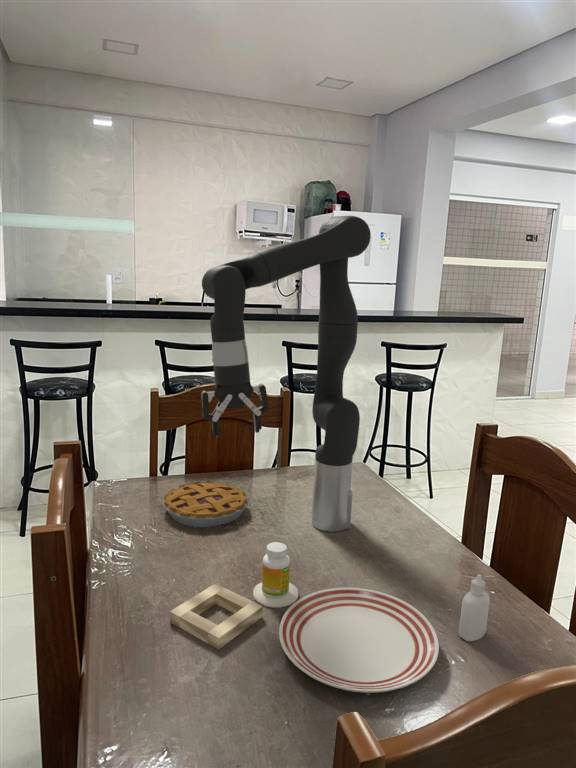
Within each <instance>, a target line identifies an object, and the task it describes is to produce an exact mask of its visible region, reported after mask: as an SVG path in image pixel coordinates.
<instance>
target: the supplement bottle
mask: <svg viewBox="0 0 576 768" xmlns="http://www.w3.org/2000/svg"><path fill="white" fill-rule="evenodd" d="M265 551H266V554H265V555H264V556H263V558H262V575H261V576H262V577H261V582H262V592H263V594H264V595H266V596H267V597H270V598H281V597H284V596H286V595H287V593H288V591H289V583H290V571H291V560H290V557H289V555H288V554H287V553H288V547H287V545H286V544H285V543H282V542H280V541H279V542H277V541H274V542H270V543H268V544H267V545H266V550H265Z"/></svg>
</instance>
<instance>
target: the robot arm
mask: <svg viewBox="0 0 576 768" xmlns="http://www.w3.org/2000/svg"><path fill="white" fill-rule="evenodd" d="M371 236H372V235H371V229H370V226H369V224H368V223H367V222H366V221H365V220H364V219H363V218H361V217H359V216H355V215H340V216H331V217H328V218H326V219H325V220H324V221H323V222H322V224H321V226H320V228H319V232H318V234H316V235H313V236H310V237H306V238H302V239H298V240H294V241H289V242H285V243H282V244H278V245H277V244H276V245H273V246H271V247H268V248H264V249H262V250H260V251H256V252H254V253H252V254H250V255H247V256H245V257H244V258H243V257H242V258H240V259H236V260H232V261H228V262H225V263H222V264H218V265H216V266H213V267H211V268H209V269H208V270H207V271H206V272H204V274H203V276H202V279H201V288H202V290H203V293H204V294H205V295H206V296H207V297H208V298H210V299H212V300H213V301H214V305H213V306H214V308H213V309H214V312H213V314H212V315H211V316H210V321H209V323H210V335H211V336H210V337H211V345H212V346H211V357H212V359H211V361H212V364H213V374H214V375H213V376H214V384H215V388H214V390H213V391H212V390H211V391H206V390H202V391H201V394H200V395H201V414H202V415H201V416H202V417H203V418H202V419H203V420H205V421H210V422H211V429H212V434H213V436H214V437H216V438H217V439H221V429H220V420H219V418H220V417H221V416H222V414H223V413H224V412H225V410H226V409H228V410H233V409H235V408H238V409H241V408H244V407H245V406H247V407H248V408H249V409H250V410H251V411H252V412H253V414H252V417H253V419H252V420H253V427H254V428H253V430H254V432H255V433H258V434H259V433H260V430H262V427H263V426H262V415H263V414H264V413H268V412H269V411H270V408H269V401H268V393H267V388H266V385H264V384H263V383H259V384H258V385H252V384H251V375H250V374H251V373H250V364H249V363H250V362H249V353H248V347H247V342H246V335H245V334H246V333H245V332H246V331H245V325H244V324H245V323H244V313H245V306H246V294H247V293H246V292H247V291H246V290H248V289H252V288H259V287H263V286H266V285H269V284H271V283H274V282H276V281H279V280H281V279H284V278H286V277H290V276H292V275H294V274H296V273H299V272H301V271H305V270H306V269H309V268H312V267H315V266H319V277H320V278H319V312H318V313H319V314H318V329H317V331H318V332H317V337H318V338H317V343H318V344H317V361H316V362H317V363H316V365H317V366H316V367H317V368H316V380H315V388H314V395H313V401H312V409H311V410H312V411H311V412H312V418H313V421H314V423H315V424H316V425H317V426H318V427H319V428H320V429H322V430H324V431H325V432H324V440H323V443H322V444H319V445H318V446H317V447H316V448H315V455H314V475H313V493H312V509H311V510H312V511H311V525H312V526H313V527H314V528H315V529H317V530H320V531H323V532H329V533H330V532H332V533H334V532H335V533H336V532H337V533H338V532H341V531H344V530H347V529H351V523H352V522H351V520H352V510H353V508H352V507H353V497H354V494H353V491H352V490H351V487H352V472H353V461H354V459H353V458H354V454H355V452H356V451H357V447H358V441H359V440H358V439H359V431H360V425H361V423H360V421H361V418H360V417H361V415H360V411H359V410H360V409H359V407H358V406H357V404H356V403H354V401H352V400H350V399H348V398H347V397H346V398H345V397H344V393H343V392H344V391H343V389H344V388H343V387H344V375H345V374H344V373H345V370H346V368H347V365H348V363H349V361H350V359H351V358H352V355H353V354H354V350H355V348H356V346H357V339H358V325H359V324H358V322H359V321H358V320H359V319H358V318H359V317H358V315H359V314H358V310H357V307H356V306H357V305H356V304H355V300H354V296H353V295H352V292H351V287H350V284H349V279H348V278H349V277H348V268H349V258H354V257H357V256H360V255H361V254H363V253H364V252H365V251H366V250H367V248H368V247H369V245H370V242H371ZM254 392H255V393H256V394H257V396H259V400H260V401H259V402H260V406H258V407H257V405H255V404H254V402H252V401H251V400H250V399H251V397H252V396H253V393H254ZM213 397H215V398H216V399H217V401H218V402H217V404H216V406H215V407H214V410H213V411H212V413H210V408H209V406H210V405H209V403H210V402H212V400H213Z"/></svg>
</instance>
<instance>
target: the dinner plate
mask: <svg viewBox="0 0 576 768" xmlns="http://www.w3.org/2000/svg"><path fill="white" fill-rule="evenodd" d="M278 629H279V630H278V635H279V642H280V645H281V648H282V649H283V652H284V654H285V655H286V656H287V657H288V659H289V660H290V662H291V663H292V664H293V665H294V666H295V667H297V668H298V669H299V670H300V671H302V672H303V673H304V674H306V675H307V676H308V677H310V678H312V679H314V680H315V681H318V682H320V683H322V684H325V685H327V686H330V687H333V688H336V689H340V690H342V691H343V690H344V691H348V692H354V693H361V694H363V693H365V694H366V693H367V694H369V693H372V694H373V693H385V692H391V691H395V690H399V689H403V688H405V687H408V686H411V685H412V684H415V683H416V682H418V681H419V680H421V679H423V678H424V677H425V676H427V675H428V673H429V672H431V670H432V669H433V667H434V666H435V664H436V663H437V660H438V657H439V650H440V643H439V639H438V635H437V633H436V630H435V629H434V627H433V625H432V624H431V622H430V621H429V620H428V618H427V617H426V616H425V615H424V614H423V613H422V612H420V610H418V609H417V608H415V607H414V606H413V605H411V603H407V601H405V600H403V599H400V598H398V597H395V596H393V595H391V594H387V593H385V592H381V591H378V590H373V589H367V588H361V587H333V588H328V589H327V588H326V589H323V590H318V591H314V592H311V593H309V594H307V595H305V596H304V597H301V598H299V599H297V601H296V602H295V603H293V604H292V605H290V607H288V609H286V611H285V613H284V614H283V616H282V618H281V621H280V624H279V628H278Z"/></svg>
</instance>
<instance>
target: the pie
mask: <svg viewBox="0 0 576 768" xmlns="http://www.w3.org/2000/svg"><path fill="white" fill-rule="evenodd" d="M162 499H163V500H162V506H163V507H164V508H165V509H166V510H167V512H168V514H169V515H170V517H171V516H172V517H171V518H172V520H173V521H175V520H176V521H175V522H177V521H178V523H179V524H182V525H184V526H187V525H189V526H188V527H192V526H194V527H193V528H197V527H199V528H212V527H211V526H213V527H218V526H222V525H221V524H223V525H226V523H227V524H228V523H229V524H230V523H231V522H233V521H236V520H237V519H238V518H239V517H240V516H242V515H243V512H244V511H245V508H246V507H247V506H248V505H249V501H248V497H247V496H246V493H245V491H243V490H240V489H239V487H237V486H234V485H233V486H231V485H228V483H225V482H220V483H218V482H217V483H215V482H214V481H211V480H207V481H206V482H200V481H193V483H192V484H181V485H178V487H177V488H172V489H170V491H168V493H166V494H165V495H164V497H163V498H162ZM217 525H218V526H217Z"/></svg>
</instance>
